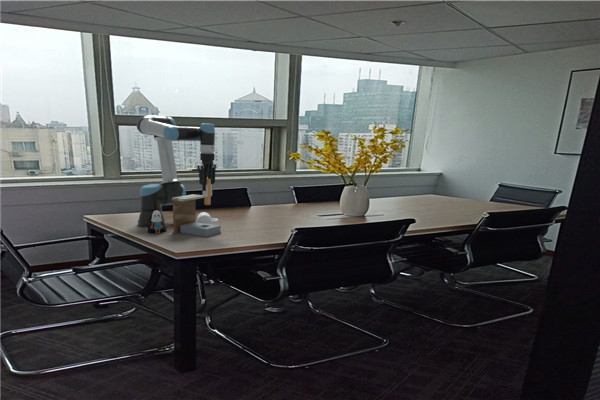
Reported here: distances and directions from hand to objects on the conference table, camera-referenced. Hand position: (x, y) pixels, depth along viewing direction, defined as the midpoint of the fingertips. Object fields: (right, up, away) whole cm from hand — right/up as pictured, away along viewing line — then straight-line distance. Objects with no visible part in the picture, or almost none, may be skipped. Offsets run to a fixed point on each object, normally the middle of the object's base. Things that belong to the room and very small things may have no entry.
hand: (207, 196), depth 239 cm
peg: (0, -5, +1) cm, 5 cm away
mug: (-4, -18, +18) cm, 26 cm away
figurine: (-28, -20, +1) cm, 34 cm away
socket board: (-4, -20, +3) cm, 21 cm away
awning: (-12, -19, +6) cm, 23 cm away
